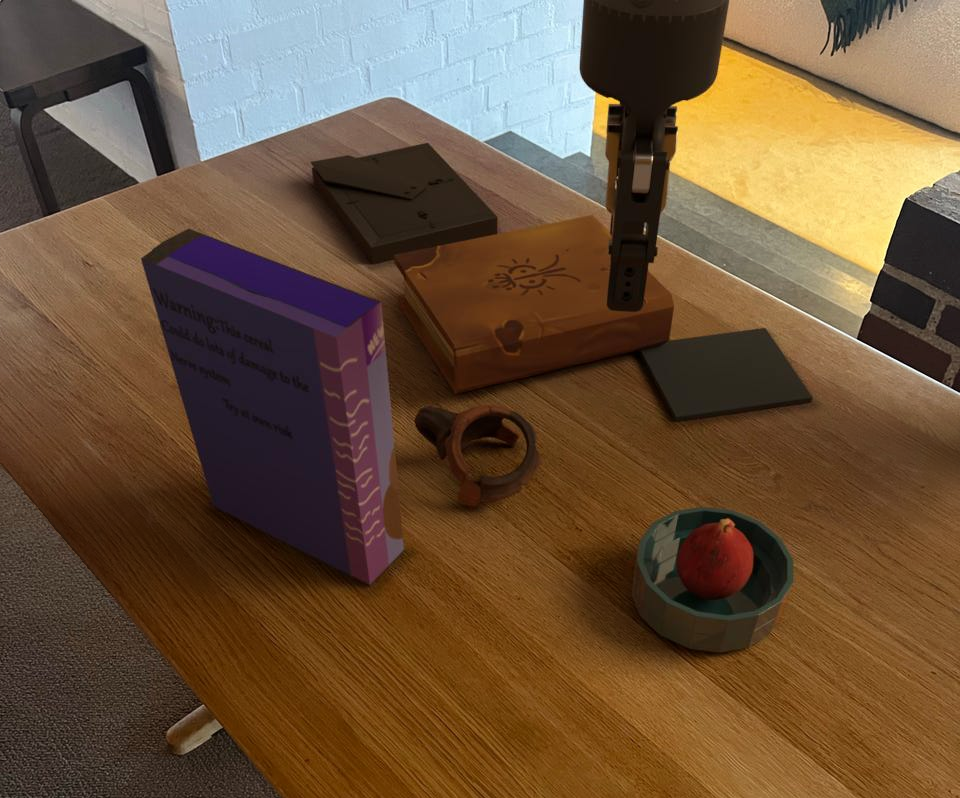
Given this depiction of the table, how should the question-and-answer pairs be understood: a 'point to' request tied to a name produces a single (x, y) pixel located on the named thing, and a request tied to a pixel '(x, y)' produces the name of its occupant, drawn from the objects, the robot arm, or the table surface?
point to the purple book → (283, 399)
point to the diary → (524, 303)
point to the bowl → (705, 619)
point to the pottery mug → (470, 425)
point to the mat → (723, 374)
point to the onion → (715, 560)
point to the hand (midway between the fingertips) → (625, 270)
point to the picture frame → (402, 201)
